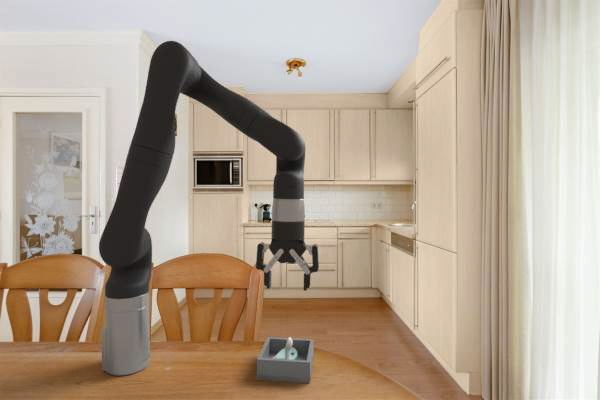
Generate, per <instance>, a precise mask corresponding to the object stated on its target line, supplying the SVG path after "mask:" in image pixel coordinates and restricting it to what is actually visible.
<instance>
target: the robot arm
mask: <svg viewBox="0 0 600 400" xmlns="http://www.w3.org/2000/svg"><path fill="white" fill-rule="evenodd" d="M149 61H150V62H149V67H148V72H147V78H146V79H147V80H146V83H145V84H146V86H145V91H144V97H143V101H142V105H141V108H140V111H139V114H138V117H137V122H136V127H135V129H134V132H133V136H132V139H131V142H130V144H129V149H128V153H127V154H126V159H125V163H124V168H123V171H122V175H121V178H120V181H119V186H118V190H117V195H116V199H115V201H114V204H113V207H112V210H111V212H110V215H109V217H108V220H107V222H106V224H105V227H104V229H103V231H102V234H101V236H100V239H99V242H98V251H99V256H100V258H101V260H102V261H103V262H104V263H105V264H106V265H107V266H109V267H111V268H110V271H109V273H110V274H109V276H108V278H107V280H106V282H105V285H104V301H105V302H104V305H105V306H104V308H105V326H104V327H103V328H102V329H101V335H100V336H101V371H103V372H106V373H107V374H109V375H111V376H128V375H132V374H135V373H139V372H141V371H142V370H145V369H146V368H147V367H148V366H149V365H150V363H151V361H150V360H151V356H150V355H151V351H150V349H151V348H150V345H151V344H150V343H151V342H150V341H151V338H150V337H151V336H150V335H151V334H150V283H151V282H150V281H151V278H152V271H153V269H152V266H153V241H152V236H151V234H150V232H149V230H148V229H147V228H145V227H146V223H147V218H148V215H149V212H150V209H151V207H152V205H153V202H154V201H155V199H156V198H157V196H158V194H159V192H160V190H161V189H162V186H163V185H164V183H165V182H166V180H167V176H168V173H169V170H170V168H171V165H172V161H173V157H174V153H175V149H176V108H177V106H178V105H177V103H178V101H179V98H180V95H184V96H186V97H188V98H190V99H192V100H195V101H196V102H199V103H201V104H202V105H204V106H206V107H207V108H209V109H210V110H212V111H213V112H214V113H215V114H217V115H218V116H220V117H221V118H222V119H223V120H225V121H226V122H227V123H228V124H230V125H231V126H232V127H234V128H235V129H236V130H238V131H239V132H241V133H242V134H243V135H244V136H247V137H248V138H250V140H251V139H252V140H253V141H255V142H257V143H258V144H260V145H261V146H263V147H264V148H265V149H266V150H267V151H268V152H270V153H272V155H274V156H276V157H275V158H276V159H275V160H276V162H275V163H276V164H275V166H276V167H275V170H276V172H275V176H274V177H273V187H272V188H273V189H272V192H273V194H272V197H273V199H272V205H271V242H270V243H265V242H264V241H261V242H259V243H258V244H257V246H256V262H255V268H256V270H260V271H262V272H263V285H264V287H265V288H266V289H267V290H269V289H271V288H272V270H271V269H272V268H273V266H275V264H277V262H278V263H279V264H287V263H288V264H292V265H293V264H296V263H297V265H298V266H299V267H300V268H301V270H302V271H303V272H304V274H303V291H304V292H305V291H307V290H308V289H309V288H310V287H311V274H312V273H317V272H319V268H320V265H319V245H318V244H316V243H314V244H308V245H307V244H306V243H305V225H306V224H305V219H306V211H305V209H306V208H305V179H304V172H305V163H306V162H305V160H306V143H305V141H304V139H303V136H302V135H301V133H299V132H298V131H296V130H295V129H294V128H293V127H291V126H289V125H288V124H285V123H284V122H282V121H280V120H279V119H277V118H275V117H273V116H272V115H271V114H270V113H269V112H267V111H266V110H265V109H263V108H261V107H260V106H258V105H257V104H256V103H254V102H253V101H251V100H249V99H248V98H247V97H245V96H243V95H241V94H240V93H237V92H235V91H233V90H231V89H229V88H227V87H225V86H224V85H222V84H221V83H219V82H218V81H217V80H215V79H214V78H213V77H212V76H211V75H210V74H209V73H208V72H207V71H206V70H205V69H204V68H203V67H202V66H201V65H199V63H198V60H197V59H196V58H195V57H194V56H193V55H192V53H191V52H190V51H189V50H188V49H187V47H185V46H184V45H183V44H181V43H180V42H178V41H175V40H166V41H164V42H162V43H160V44H159V45H158V46H157V47H156V48H155V49H154V51H153V53H152V56H151V58H150V60H149ZM268 249H269V251H270V252H271V253H272V255H273V256H272V257H271V259H270V260H269V262H268V263H267V264H265V263H264V262H265V261H264V259H265V254H266V253H267V251H268ZM306 251H307V252H308V254H309V255H311V257H312V266H311V265H309V264H308V262H307V260H306V259H305V258H304V256H303V255H304V253H305V252H306Z"/></svg>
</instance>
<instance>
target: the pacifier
mask: <svg viewBox="0 0 600 400" xmlns="http://www.w3.org/2000/svg"><path fill="white" fill-rule="evenodd" d="M287 338H288V340H287V342H286V346H285V348H284V349H282V350H281V351H280V352H279V353H278V354H277V355H276V356H274V357H273V358H272V359H289V360H295V359H296V358H297V350H296V349H295V348H293V347H292V345H293V340H292V337H291V336H289V337H287ZM292 353H293V354H294V355H291V354H292Z"/></svg>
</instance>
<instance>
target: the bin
mask: <svg viewBox="0 0 600 400" xmlns="http://www.w3.org/2000/svg"><path fill="white" fill-rule="evenodd" d="M288 338H289V337H271V336H270V337H266V339H265V341H264V344H263V346H262V348H261V350H260V352H259V353H258V356H257V359H256V380H257V381H268V382H269V381H270V382H272V381H273V382H275V381H276V382H286V383H288V382H289V383H303V384H304V383H305V384H310V383H311V380H312V379H311V378H312V371H313V364H314V358H315V357H314V356H315V355H314V354H315V349H314V348H315V347H314V346H315V341H314V340H315V339H310V338H308V339H307V338H294V337H293V338H292V337H291V338H292V340H293V345H292V347H293V348H295V349H296V350H297V358H296V359H295V360H289V359H272V358H273V357H274V356H276V355H277V354H278V353H279V352H280V351H281V350H282V349H284V348H285V346H286V342H287V340H288ZM291 355H294V354H293V353H292V354H291Z"/></svg>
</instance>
